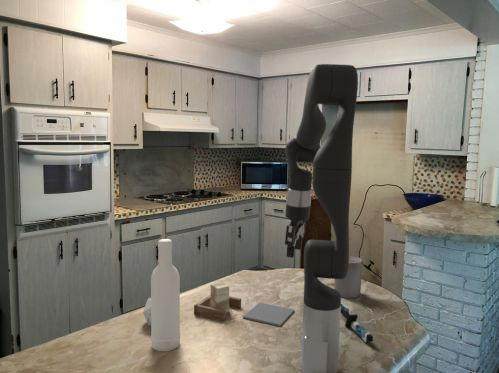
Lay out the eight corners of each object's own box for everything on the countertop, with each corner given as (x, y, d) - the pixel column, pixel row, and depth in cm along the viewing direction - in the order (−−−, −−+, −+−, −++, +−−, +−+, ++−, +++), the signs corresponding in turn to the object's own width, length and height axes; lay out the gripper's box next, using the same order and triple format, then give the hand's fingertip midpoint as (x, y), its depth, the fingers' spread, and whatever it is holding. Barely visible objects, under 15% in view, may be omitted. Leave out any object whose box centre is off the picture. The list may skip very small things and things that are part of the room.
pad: (280, 326, 129) (280, 324, 129) (242, 318, 135) (242, 316, 135) (294, 311, 141) (294, 309, 141) (259, 304, 146) (259, 302, 146)
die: (137, 323, 131) (136, 307, 124) (153, 302, 137) (153, 286, 131) (159, 335, 129) (160, 320, 123) (174, 314, 135) (176, 298, 129)
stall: (223, 320, 132) (223, 311, 132) (194, 314, 137) (194, 305, 137) (241, 307, 144) (241, 298, 143) (213, 301, 148) (213, 293, 148)
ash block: (228, 311, 140) (229, 285, 139) (217, 314, 137) (217, 288, 136) (221, 307, 143) (221, 281, 142) (210, 310, 141) (210, 284, 139)
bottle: (157, 354, 111) (156, 245, 108) (147, 342, 118) (145, 239, 114) (184, 346, 116) (184, 241, 112) (173, 335, 122) (173, 235, 119)
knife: (373, 350, 118) (375, 335, 117) (362, 350, 118) (364, 336, 117) (332, 297, 148) (333, 286, 147) (324, 298, 147) (325, 286, 146)
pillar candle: (337, 287, 164) (339, 250, 162) (362, 292, 160) (364, 254, 158) (331, 295, 155) (332, 256, 154) (357, 300, 151) (359, 260, 149)
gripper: (304, 209, 121) (299, 262, 124) (315, 200, 134) (310, 248, 137) (279, 205, 124) (275, 257, 127) (293, 197, 137) (289, 244, 140)
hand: (293, 252), depth 132 cm, fingers open, 8 cm apart
